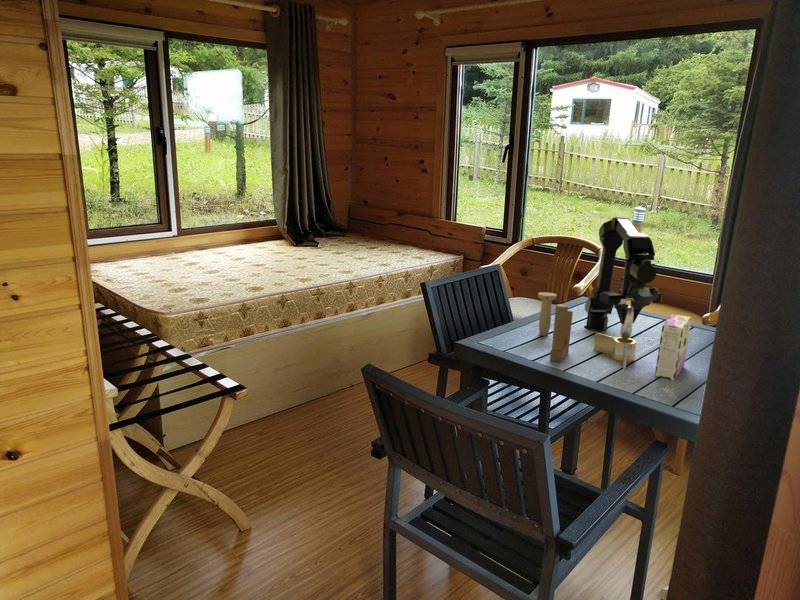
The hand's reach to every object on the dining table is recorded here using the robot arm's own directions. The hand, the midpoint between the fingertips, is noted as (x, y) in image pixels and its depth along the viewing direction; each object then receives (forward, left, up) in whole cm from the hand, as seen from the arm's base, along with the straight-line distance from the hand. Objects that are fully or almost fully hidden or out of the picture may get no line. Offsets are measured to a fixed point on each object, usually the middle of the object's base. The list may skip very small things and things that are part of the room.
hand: (627, 323), depth 191 cm
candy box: (+15, 0, -12) cm, 19 cm away
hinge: (-2, -3, -12) cm, 12 cm away
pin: (0, 0, -5) cm, 4 cm away
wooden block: (-14, -15, -12) cm, 24 cm away
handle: (-30, 0, -12) cm, 32 cm away
